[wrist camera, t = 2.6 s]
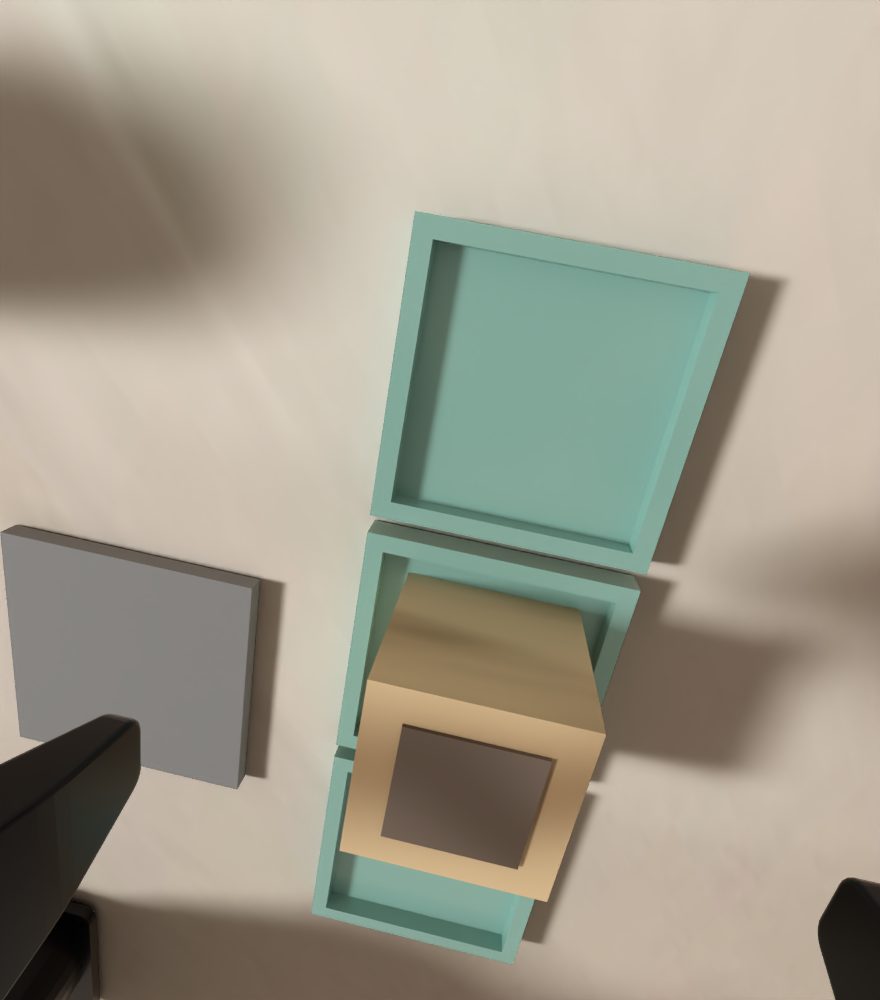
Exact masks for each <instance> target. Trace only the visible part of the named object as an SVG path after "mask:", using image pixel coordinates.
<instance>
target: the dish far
mask: <svg viewBox="0 0 880 1000" xmlns="http://www.w3.org/2000/svg"><path fill="white" fill-rule="evenodd" d="M355 752H356V749H353V748H349V747H344V746H340V745H339V746H338V749H337V751H336V754H335V756H334V763H333V770H332V776H331V783H330V790H329V797H328V803H327V810H326V817H325V824H324V831H323V837H322V844H321V851H320V858H319V864H318V871H317V878H316V885H315V892H314V898H313V905H312V912H311V914H315V915H319V916H323V917H327V918H331V919H335V920H338V921H342V922H346V923H350V924H354V925H358V926H362V927H366V928H370V929H374V930H378V931H382V932H386V933H390V934H394V935H397V936H401V937H405V938H409V939H413V940H417V941H421V942H425V943H429V944H433V945H437V946H441V947H445V948H449V949H453V950H456V951H460V952H464V953H468V954H472V955H476V956H480V957H484V958H488V959H492V960H496V961H500V962H504V963H508V964H511V965H513V962H514V959H515V956H516V953H517V950H518V947H519V944H520V941H521V938H522V935H523V932H524V930H525V927H526V924H527V921H528V918H529V915H530V912H531V909H532V906H533V903H534V900H535V899H532V898H528V897H524V896H520V895H516V894H512V893H508V892H504V891H500V890H496V889H492V888H488V887H484V886H480V885H476V884H472V883H468V882H464V881H460V880H456V879H452V878H448V877H444V876H439V875H435V874H431V873H427V872H423V871H419V870H415V869H411V868H407V867H403V866H399V865H395V864H391V863H387V862H383V861H379V860H375V859H371V858H367V857H363V856H359V855H355V854H351V853H347V852H343V851H339V850H340V844H341V838H342V831H343V825H344V819H345V813H346V807H347V801H348V795H349V789H350V783H351V776H352V770H353V764H354V758H355Z"/></svg>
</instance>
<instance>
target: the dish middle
mask: <svg viewBox="0 0 880 1000" xmlns="http://www.w3.org/2000/svg"><path fill="white" fill-rule="evenodd" d="M409 572H410V573H415V574H419V575H424V576H429V577H433V578H438V579H442V580H447V581H451V582H456V583H460V584H465V585H470V586H474V587H479V588H483V589H488V590H492V591H497V592H501V593H506V594H511V595H515V596H520V597H524V598H529V599H533V600H538V601H542V602H547V603H551V604H556V605H561V606H565V607H570V608H574V609H579V610H580V614H581V618H582V623H583V628H584V632H585V637H586V642H587V646H588V651H589V656H590V660H591V665H592V670H593V674H594V679H595V684H596V688H597V693H598V698H599V702H600V707H601V705H602V703H603V700H604V697H605V694H606V691H607V688H608V685H609V682H610V679H611V676H612V673H613V670H614V668H615V665H616V662H617V659H618V656H619V653H620V650H621V647H622V644H623V641H624V638H625V636H626V633H627V630H628V627H629V624H630V621H631V618H632V615H633V612H634V609H635V606H636V604H637V601H638V598H639V595H640V592H641V591H640V588H639V586H638V584H637V581H636V579H635V577H634V576H632V575H628V574H623V573H618V572H614V571H609V570H604V569H600V568H595V567H591V566H586V565H581V564H577V563H572V562H567V561H563V560H558V559H553V558H549V557H544V556H539V555H535V554H530V553H526V552H521V551H516V550H512V549H507V548H502V547H498V546H493V545H488V544H484V543H479V542H474V541H470V540H465V539H461V538H456V537H451V536H447V535H442V534H437V533H433V532H428V531H423V530H419V529H414V528H409V527H405V526H400V525H395V524H391V523H386V522H382V521H377V520H375V521H374V523H373V524H372V526H371V527H370V529H369V531H368V533H367V539H366V546H365V553H364V560H363V566H362V573H361V580H360V587H359V594H358V600H357V607H356V614H355V621H354V627H353V634H352V641H351V648H350V655H349V661H348V668H347V675H346V682H345V688H344V695H343V702H342V709H341V715H340V722H339V729H338V736H337V743H336V745H340V746H344V747H349V748H353V749H356V746H357V740H358V734H359V728H360V721H361V715H362V709H363V703H364V697H365V691H366V685H367V679H368V677H369V674H370V671H371V669H372V666H373V664H374V661H375V658H376V656H377V653H378V651H379V648H380V645H381V643H382V640H383V638H384V635H385V632H386V630H387V627H388V625H389V622H390V619H391V617H392V614H393V612H394V609H395V606H396V604H397V601H398V599H399V596H400V593H401V591H402V588H403V586H404V583H405V580H406V578H407V575H408V573H409Z"/></svg>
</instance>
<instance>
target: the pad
mask: <svg viewBox="0 0 880 1000" xmlns="http://www.w3.org/2000/svg"><path fill="white" fill-rule="evenodd" d="M0 534H1V544H2V555H3V565H4V575H5V585H6V596H7V606H8V616H9V626H10V637H11V647H12V657H13V667H14V678H15V688H16V698H17V709H18V719H19V729H20V737H24V738H29V739H33V740H37V741H41V742H47V741H49V740H51V739H54V738H56V737H58V736H60V735H62V734H64V733H66V732H68V731H70V730H72V729H74V728H76V727H78V726H81V725H83V724H85V723H87V722H89V721H91V720H93V719H95V718H97V717H99V716H102V715H105V714H115V715H120V716H124V717H129V718H133V719H135V720H137V721H138V722H139V724H140V729H141V766H143V767H147V768H151V769H156V770H160V771H164V772H168V773H172V774H176V775H180V776H184V777H188V778H192V779H196V780H201V781H205V782H209V783H213V784H217V785H221V786H225V787H229V788H233V789H238V787H239V785H240V783H241V782H242V780H243V778H244V776H245V766H246V754H247V741H248V728H249V715H250V703H251V690H252V677H253V664H254V652H255V639H256V626H257V613H258V601H259V588H260V579H256V578H252V577H247V576H243V575H238V574H234V573H229V572H225V571H221V570H216V569H212V568H207V567H203V566H198V565H194V564H189V563H185V562H180V561H176V560H171V559H167V558H162V557H158V556H153V555H149V554H144V553H140V552H135V551H131V550H127V549H122V548H118V547H113V546H109V545H104V544H100V543H95V542H91V541H86V540H82V539H77V538H73V537H68V536H64V535H59V534H55V533H50V532H46V531H41V530H37V529H33V528H28V527H24V526H19V525H15V526H13V527H11V528H8V529H6V530H4V531H2V532H0Z"/></svg>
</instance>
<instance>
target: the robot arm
mask: <svg viewBox="0 0 880 1000" xmlns="http://www.w3.org/2000/svg"><path fill="white" fill-rule="evenodd" d="M140 770H141V729H140V724H139V722H138V721H137V720H135V719H133V718H129V717H124V716H120V715H115V714H105V715H102V716H99V717H97V718H95V719H93V720H91V721H89V722H87V723H85V724H83V725H81V726H78V727H76V728H74V729H72V730H70V731H68V732H66V733H64V734H62V735H60V736H58V737H56V738H54V739H51V740H49V741H47V742H45V743H43V744H41V745H39V746H37V747H35V748H33V749H31V750H29V751H27V752H25V753H22V754H20V755H18V756H16V757H14V758H12V759H10V760H8V761H6V762H4V763H2V764H0V1000H100V992H99V970H98V948H97V926H96V914H95V912H94V911H93V910H92V909H91V908H89V907H87V906H85V905H81V904H78V903H74V902H70V900H71V898H72V897H73V895H74V893H75V892H76V890H77V888H78V886H79V885H80V883H81V881H82V879H83V878H84V876H85V874H86V872H87V871H88V869H89V867H90V865H91V864H92V862H93V860H94V858H95V857H96V855H97V853H98V851H99V850H100V848H101V846H102V844H103V843H104V841H105V839H106V837H107V836H108V834H109V832H110V830H111V829H112V827H113V825H114V823H115V821H116V820H117V818H118V816H119V814H120V813H121V811H122V809H123V807H124V806H125V804H126V802H127V800H128V799H129V797H130V795H131V793H132V792H133V790H134V788H135V786H136V784H137V781H138V778H139V775H140ZM818 940H819V945H820V949H821V952H822V956H823V959H824V962H825V966H826V969H827V973H828V976H829V979H830V983H831V986H832V990H833V993H834V996H835V1000H880V884H879V883H875V882H871V881H866V880H862V879H857V878H846V879H844V880H843V881H842V882H841V883H840V884H839V886H838V888H837V890H836V891H835V893H834V895H833V897H832V898H831V900H830V902H829V904H828V906H827V907H826V909H825V911H824V913H823V914H822V916H821V918H820V920H819V925H818Z"/></svg>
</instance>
